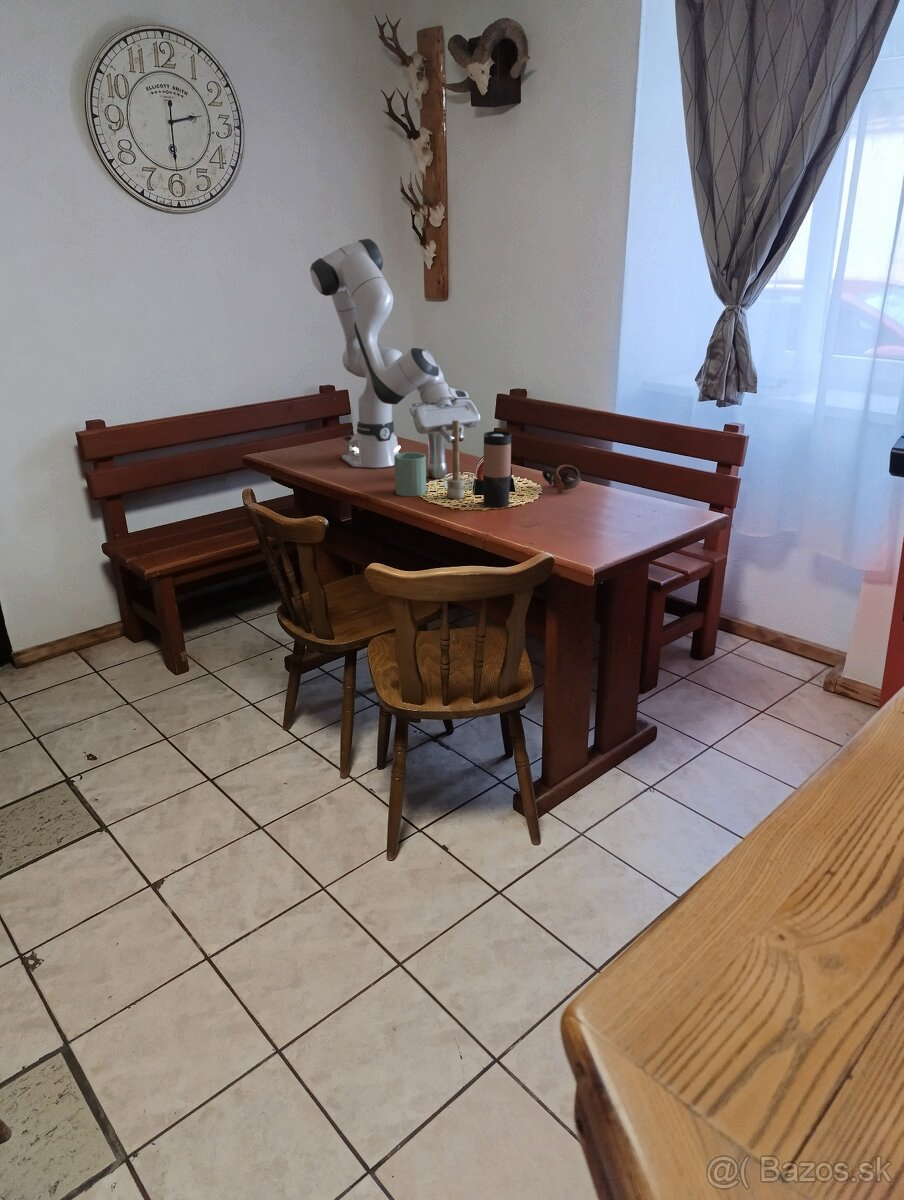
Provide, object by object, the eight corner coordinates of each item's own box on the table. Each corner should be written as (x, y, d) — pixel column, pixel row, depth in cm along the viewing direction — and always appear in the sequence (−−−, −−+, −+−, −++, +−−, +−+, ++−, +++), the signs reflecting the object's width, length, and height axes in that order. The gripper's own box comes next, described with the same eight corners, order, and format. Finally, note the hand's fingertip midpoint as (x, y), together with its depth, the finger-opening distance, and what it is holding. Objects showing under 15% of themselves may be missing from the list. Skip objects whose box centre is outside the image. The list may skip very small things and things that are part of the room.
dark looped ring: (580, 487, 249) (586, 467, 242) (571, 507, 244) (577, 487, 237) (543, 474, 251) (548, 454, 244) (534, 494, 246) (538, 474, 239)
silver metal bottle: (448, 475, 261) (447, 412, 254) (446, 480, 255) (445, 416, 247) (428, 474, 262) (427, 412, 254) (425, 480, 256) (424, 416, 248)
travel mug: (512, 501, 232) (514, 432, 225) (505, 509, 226) (507, 437, 218) (487, 499, 235) (488, 430, 227) (479, 506, 228) (480, 435, 220)
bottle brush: (444, 495, 238) (443, 420, 230) (458, 493, 241) (457, 418, 232) (453, 499, 234) (453, 423, 226) (467, 496, 237) (468, 421, 228)
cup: (389, 491, 244) (388, 454, 239) (415, 486, 248) (415, 450, 244) (405, 498, 237) (404, 460, 232) (432, 493, 241) (431, 456, 237)
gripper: (411, 397, 227) (429, 438, 223) (472, 391, 237) (490, 430, 233) (403, 411, 232) (421, 451, 228) (463, 404, 242) (481, 443, 238)
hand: (456, 440), depth 231 cm, fingers closed on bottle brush
